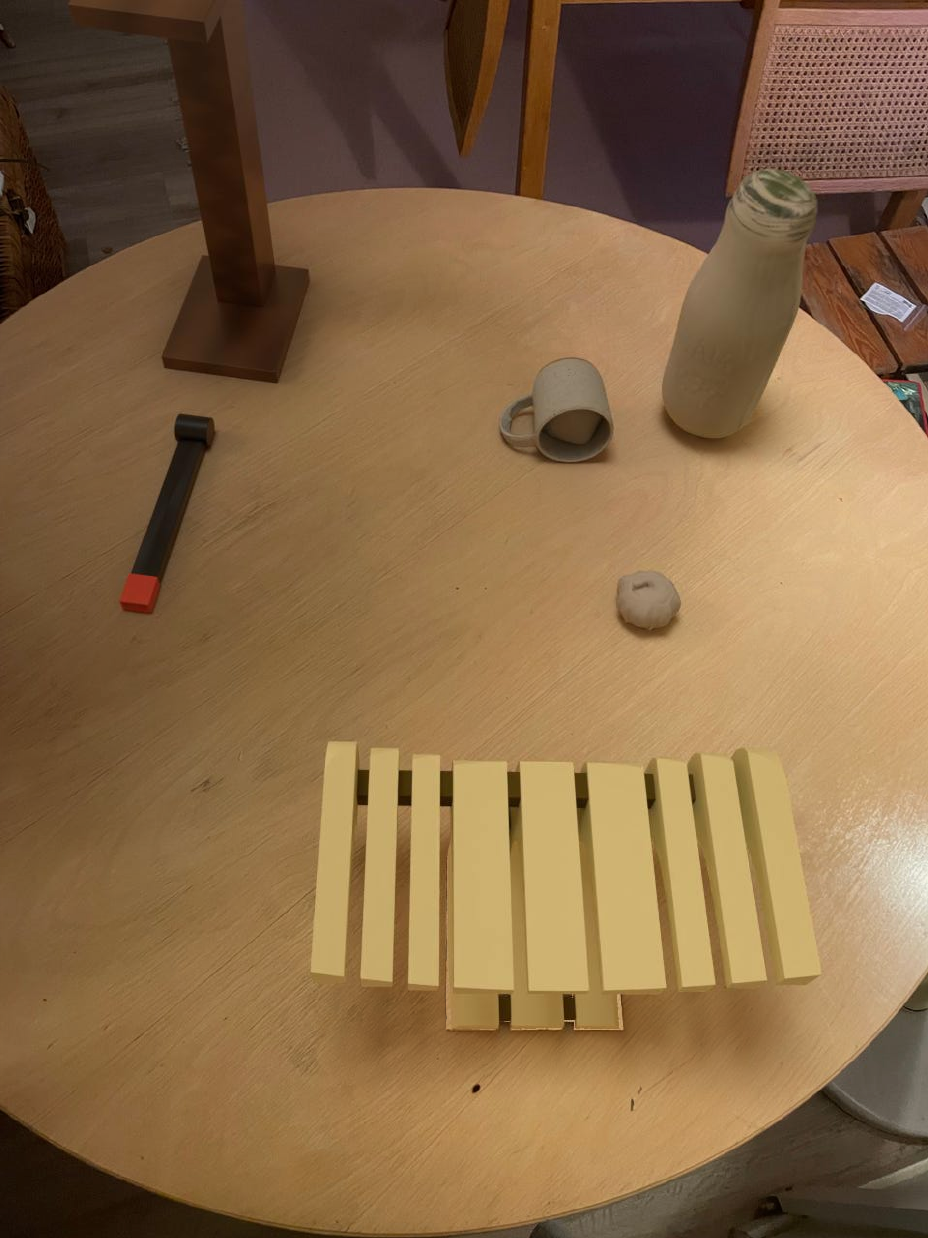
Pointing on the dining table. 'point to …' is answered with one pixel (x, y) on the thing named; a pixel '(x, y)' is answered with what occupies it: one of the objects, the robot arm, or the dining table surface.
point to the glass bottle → (740, 306)
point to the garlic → (647, 599)
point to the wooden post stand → (218, 190)
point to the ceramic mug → (564, 412)
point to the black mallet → (167, 513)
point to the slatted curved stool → (564, 880)
